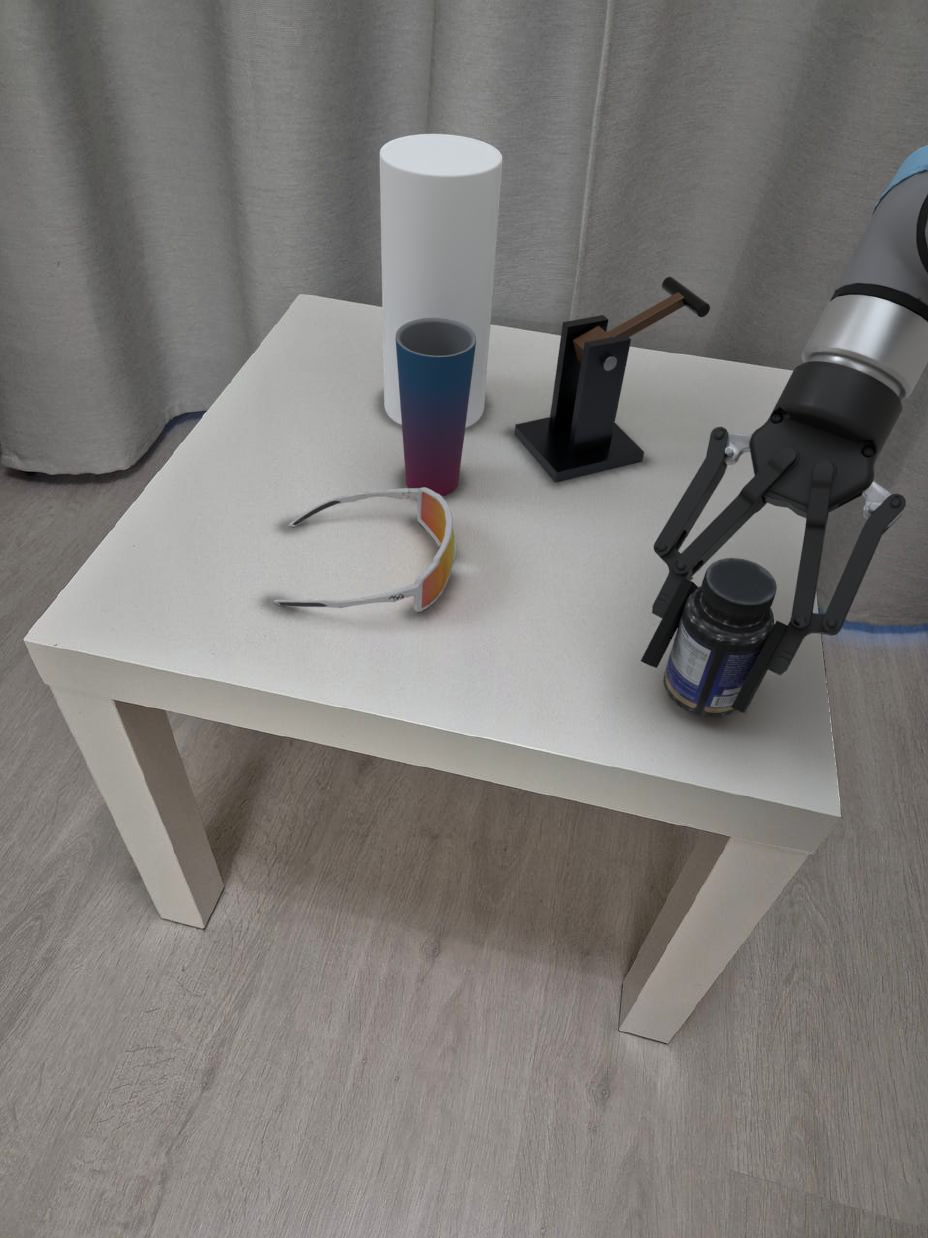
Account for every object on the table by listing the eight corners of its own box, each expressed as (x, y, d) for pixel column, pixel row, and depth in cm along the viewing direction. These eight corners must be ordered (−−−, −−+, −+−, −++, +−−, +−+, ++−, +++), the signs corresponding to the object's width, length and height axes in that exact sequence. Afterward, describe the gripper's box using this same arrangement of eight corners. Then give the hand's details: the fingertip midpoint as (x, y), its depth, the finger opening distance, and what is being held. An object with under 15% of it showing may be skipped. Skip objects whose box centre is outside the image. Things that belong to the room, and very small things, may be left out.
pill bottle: (745, 669, 67) (790, 561, 60) (742, 729, 63) (789, 621, 55) (665, 651, 68) (699, 542, 60) (656, 709, 64) (691, 600, 56)
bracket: (597, 415, 94) (617, 300, 85) (642, 461, 88) (669, 344, 79) (513, 434, 91) (525, 316, 82) (555, 483, 85) (573, 363, 76)
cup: (389, 466, 86) (386, 321, 75) (455, 456, 87) (462, 313, 77) (406, 508, 81) (407, 360, 71) (476, 497, 83) (487, 351, 72)
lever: (674, 290, 85) (672, 268, 83) (711, 317, 81) (709, 296, 79) (567, 350, 84) (562, 330, 83) (599, 381, 81) (595, 360, 79)
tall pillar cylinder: (363, 404, 93) (353, 149, 76) (432, 369, 99) (438, 125, 81) (436, 445, 88) (444, 184, 71) (504, 406, 94) (527, 155, 77)
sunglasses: (460, 625, 71) (454, 580, 67) (277, 639, 72) (261, 595, 68) (458, 514, 81) (452, 470, 77) (297, 528, 81) (284, 485, 78)
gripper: (988, 449, 59) (825, 753, 61) (725, 358, 66) (587, 631, 68) (1010, 413, 52) (826, 757, 54) (713, 316, 59) (560, 621, 61)
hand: (692, 686), depth 61 cm, fingers closed on pill bottle, 6 cm apart
